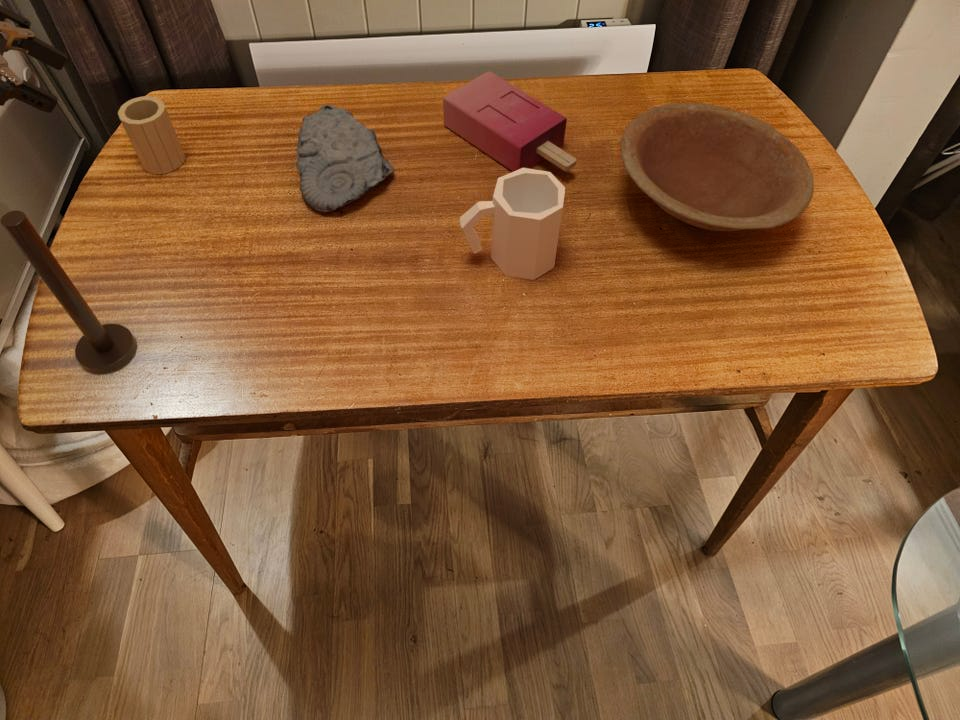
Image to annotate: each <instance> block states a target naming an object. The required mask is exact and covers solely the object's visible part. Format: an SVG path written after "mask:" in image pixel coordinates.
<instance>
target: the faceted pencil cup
mask: <svg viewBox="0 0 960 720" xmlns="http://www.w3.org/2000/svg"><path fill="white" fill-rule="evenodd" d="M117 115H118V118H119V121H120V122H121V124H122V127H123V129H124V131H125V133H126V135H127V137H128V140H129V141H130V144H131V146H132V147H133V150H134V152H135V154H136V156H137V158H138V161H139V163H140V165H141V167H142V169H143V170H144V171H146V172H147V173H149V174H151V175H152V174H153V175H166V174H169V173H172V172H174V171H176V170H178V169H179V168H180V167H182V166H183V165H184V163H185V161H186V155H185V152H184V150H183V147H182V145H181V142H180V139H179V137H178V135H177V132H176V130H175V127H174V125H173V122H172V119H171V117H170V115H169V113H168V110H167V107H166V105H165V102H164V101H163V99H160V98H158V97H156V96H150V95H149V96H147V95H143V96H139V97H134V98H131V99H129V100H127V101H125V103H123V104H122V105H121V106H120V108H119V109H118V110H117Z"/></svg>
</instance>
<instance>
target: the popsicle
mask: <svg viewBox="0 0 960 720" xmlns="http://www.w3.org/2000/svg"><path fill="white" fill-rule="evenodd" d="M442 104H443V105H442V107H443V109H442V110H443V125H444V126H445V127H446V128H448V129H449V130H451V131H452V132H453V133H455V134H456V135H458V136H459V137H461V138H462V139H464V140H465V141H467V142H468V143H470V144H471V145H473V146H474V147H476V148H477V149H479V151H482V152H483V153H484V154H486V155H487V156H489V157H491V158H492V159H493V160H495V161H496V162H497V163H499V164H500V165H502V166H504V167H505V168H507V169H508V170H509V171H511V172H514V171H516V170H519V169H521V168H528V169H532V168H533V167H534V166H536V165H537V164H538V163H540V162H542V161H543V160H544V159H545V160H547V161H548V162H550V163H551V164H553V165H554V166H556V167H557V168H559V169H561V170H562V171H564V172H568V171H570V170H571V169H573V168H574V167H576V165H577V158H576V157H574V156H573V155H572V154H570V153H568V152H566V151H565V150H563V149H562V147H563V146H564V143H565V137H566V129H567V120H568V118H567V117H566V116H564V115H562V114H561V113H559V112H558V111H556V110H555V109H553V108H552V107H549V106H548V105H546V104H544V103H543V102H541V101H539V100H538V99H537V98H535V97H533V96H532V95H530V94H528V93H526V92H525V91H523V90H521V89H520V88H518V87H517V86H515V85H514V84H512V83H510V82H509V81H507V80H505V79H504V78H502V77H500V76H499V75H497V74H495V73H494V72H492V71H489V70H487V71H486V72H484V73H483V74H480V75H479V76H477V77H475V78H474V79H472V80H470V81H468V82H466V83H464V84H463V85H461V86H460V87H459V88H456V89H455V90H453V91H451V92H449V93H447V94H446V95H444V96H443V97H442Z"/></svg>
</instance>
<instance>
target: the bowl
mask: <svg viewBox="0 0 960 720" xmlns="http://www.w3.org/2000/svg"><path fill="white" fill-rule="evenodd" d="M619 150H620V157H621V160H622V163H623V166H624V168H625V170H626V172H627V174H628V176H629V178H631V179H632V181H633V182H634V184H635V185H637V187H638V188H639V189H640V190H641V191H642V192H643V193H644V194H646V195H647V196H648V197H649V198H650V199H652V201H653V202H654V203H655V204H656V205H657V206H658V207H659V208H660V209H661V210H662V211H664V212H665V213H666V214H668V215H670V216H672V217H673V218H675V219H678V220H680V221H681V222H683V223H685V224H688V225H690V226H694V227H696V228H700V229H703V230H707V231H713V232H735V231H736V232H737V231H741V230H771V229H774V228H777V227H781V226H782V225H785V224H787V223H789V222H792V221H793V220H794V219H796V218H797V217H798V216H800V215H802V213H804V211H805V210H806V209H807V208H808V206H809V205H810V204H811V202H812V198H813V196H814V191H815V186H814V184H815V183H814V173H813V172H812V170H811V167H810V166H809V163H808V159H806V157H805V155H804V154H803V153H802V152H801V150H800V149H799V148H798V147H797V146H796V145H795V144H794V143H793V142H792V141H791V140H790V139H789V138H788V137H787V136H785V134H783V133H781V132H780V131H779V130H777V129H776V128H775V127H774V126H773V125H772V124H770V123H768V122H767V121H765V120H761V119H759V118H757V117H756V116H753V115H750V114H747V113H743V112H740V111H737V110H734V109H731V108H729V107H723V106H719V105H714V104H708V103H707V104H706V103H700V102H675V103H669V104H667V103H666V104H663V105H660V106H653V107H649V109H647V110H645V111H643V112H641V113H640V114H638V115H637V116H636V117H634V118H632V120H631V121H630V122H629V123H628V124H627V126H626V127H625V129H624V131H623V132H622V135H621V139H620V149H619Z"/></svg>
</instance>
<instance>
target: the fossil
mask: <svg viewBox="0 0 960 720" xmlns="http://www.w3.org/2000/svg"><path fill="white" fill-rule="evenodd" d="M377 138H378V137H377V134H376V132H375V131H374V130H373V129H370V128H368V127H367V126H365V125H364V124H363V123H361V122H360V121H359V120H358V119H356V118H355V116H354V115H353V114H352V113H350V112H349V111H348V110H347V109H345V108H343V107H339V106H335V105H328V104H322V105H321V107H320V108H319V109H318V110H317V111H316V112H313V113H311V114H308V115H307V116H304V117H302V124H301V126H300V128H299V131H298V135H297V145H296V159H297V161H296V163H295V165H296V169H297V171H298V173H299V174H300V183H299V191H300V193H301V196H302V199H303V200H304V201H305V203H306V204H307V205H308V206H310V207H311V208H312V209H314V210H316V211H319V212H324V213H328V212H333V211H335V210H338V209H341V208H343V207H344V206H346V205H348V204H350V203H352V202H354V201H356V200H358V199H359V198H361V197H362V196H364V195H365V194H366V193H368V191H369V190H370V189H373V187H376V186H377V185H378V184H380V183H381V182H383V181H384V180H385V179H386V177H388V176H390V175H391V174H392V173H393V172H395V171H394V169H395V167H394V166H393V165H391V163H390V161H389V160H388V159H386V158H385V156H384V154H383V153H382V147H381V145H380V144H379V143H378V141H377Z"/></svg>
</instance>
